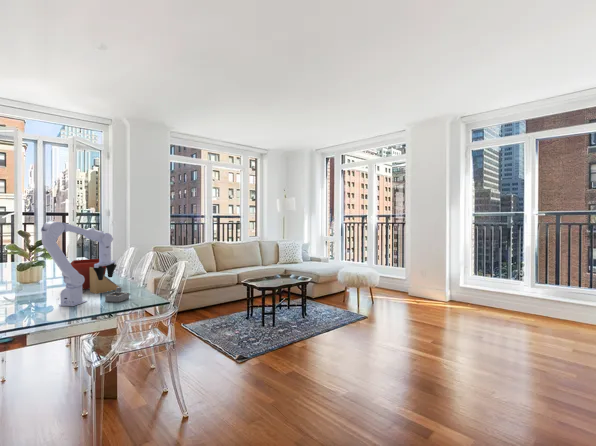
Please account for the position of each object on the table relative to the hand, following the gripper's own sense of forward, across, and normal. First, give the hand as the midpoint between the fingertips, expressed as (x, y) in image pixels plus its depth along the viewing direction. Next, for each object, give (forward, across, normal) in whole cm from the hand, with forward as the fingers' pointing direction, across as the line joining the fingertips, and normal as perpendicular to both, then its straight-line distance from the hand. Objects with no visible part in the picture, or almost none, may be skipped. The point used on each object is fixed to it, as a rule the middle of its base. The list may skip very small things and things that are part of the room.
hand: (105, 278), depth 185 cm
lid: (+10, +4, -5) cm, 12 cm away
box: (+10, -6, -11) cm, 16 cm away
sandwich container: (+11, +15, +11) cm, 21 cm away
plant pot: (+11, +21, +27) cm, 36 cm away
